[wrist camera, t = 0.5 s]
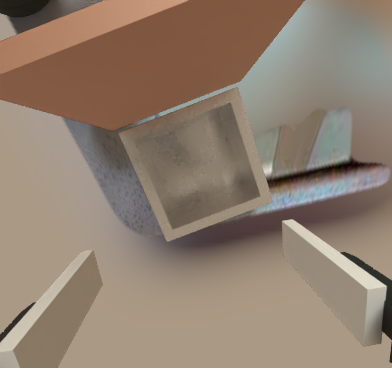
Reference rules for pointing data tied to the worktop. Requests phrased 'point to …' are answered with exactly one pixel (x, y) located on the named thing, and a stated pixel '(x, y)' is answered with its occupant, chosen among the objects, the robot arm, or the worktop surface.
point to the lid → (137, 56)
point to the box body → (198, 164)
